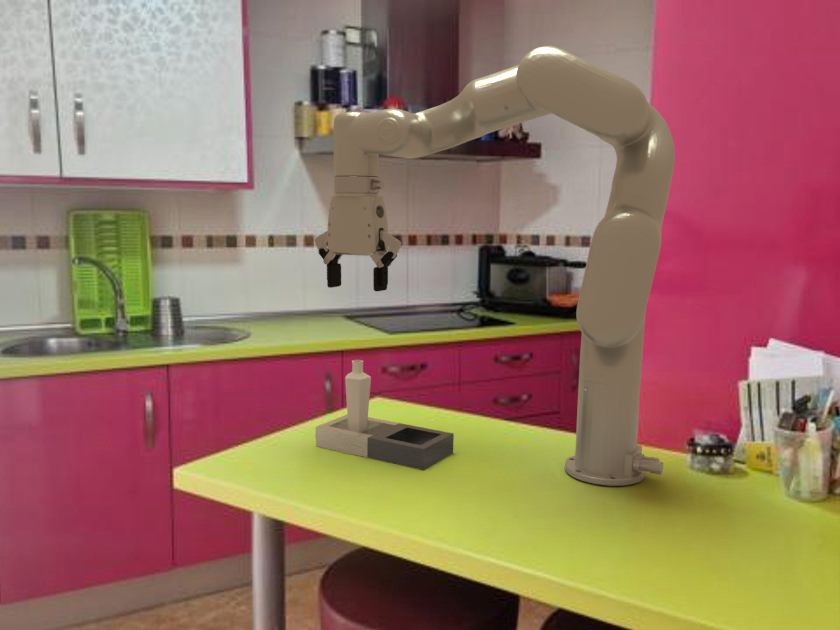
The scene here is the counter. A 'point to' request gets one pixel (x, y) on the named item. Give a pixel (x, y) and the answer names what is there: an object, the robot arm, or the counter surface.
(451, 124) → the robot arm
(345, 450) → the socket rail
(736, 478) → the counter surface
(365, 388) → the perfume bottle
